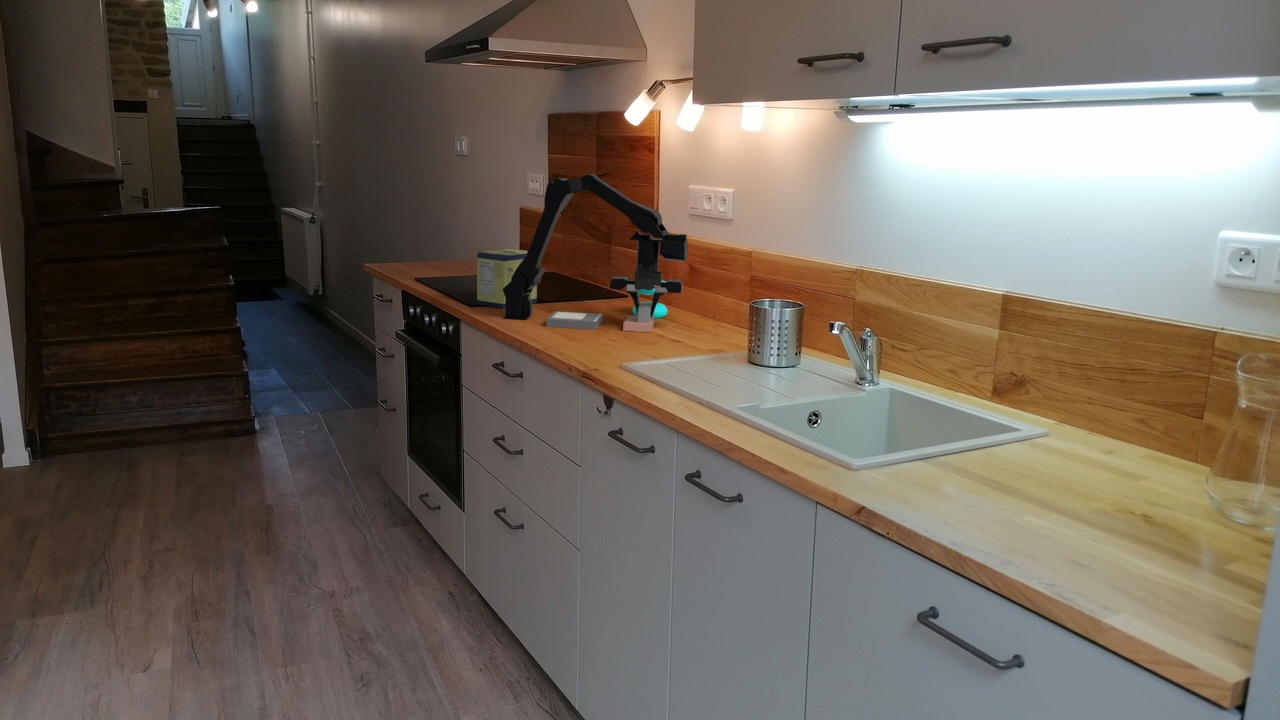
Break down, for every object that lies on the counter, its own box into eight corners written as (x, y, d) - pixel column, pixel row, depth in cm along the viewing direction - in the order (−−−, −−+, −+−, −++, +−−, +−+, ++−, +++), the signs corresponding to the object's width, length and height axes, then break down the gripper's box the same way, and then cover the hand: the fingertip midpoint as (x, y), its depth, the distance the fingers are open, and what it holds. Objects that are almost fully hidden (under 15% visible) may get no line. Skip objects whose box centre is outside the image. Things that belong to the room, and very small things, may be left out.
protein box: (537, 303, 280) (538, 251, 277) (503, 309, 267) (503, 255, 264) (510, 298, 286) (511, 248, 282) (475, 305, 273) (476, 251, 269)
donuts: (664, 284, 259) (629, 281, 262) (662, 320, 261) (628, 317, 264) (672, 280, 269) (639, 277, 271) (671, 314, 271) (637, 311, 273)
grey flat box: (546, 326, 246) (546, 318, 245) (555, 318, 257) (555, 310, 257) (595, 329, 244) (596, 321, 244) (602, 321, 256) (602, 313, 255)
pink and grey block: (623, 330, 244) (624, 308, 242) (628, 322, 255) (629, 300, 254) (649, 332, 243) (650, 309, 242) (654, 323, 255) (655, 302, 253)
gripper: (608, 259, 238) (606, 320, 241) (681, 263, 236) (678, 324, 240) (614, 254, 249) (611, 312, 252) (683, 258, 247) (680, 316, 250)
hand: (645, 316), depth 248 cm, fingers closed on pink and grey block, 3 cm apart
